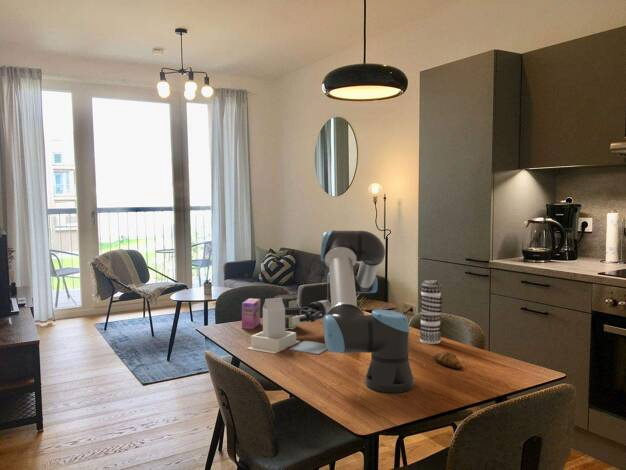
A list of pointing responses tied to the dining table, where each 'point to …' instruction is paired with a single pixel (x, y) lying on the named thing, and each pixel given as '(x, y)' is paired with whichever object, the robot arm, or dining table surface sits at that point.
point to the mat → (310, 347)
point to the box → (250, 313)
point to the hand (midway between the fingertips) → (281, 317)
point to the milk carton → (273, 318)
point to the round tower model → (430, 312)
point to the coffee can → (288, 302)
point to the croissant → (448, 359)
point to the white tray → (272, 342)
